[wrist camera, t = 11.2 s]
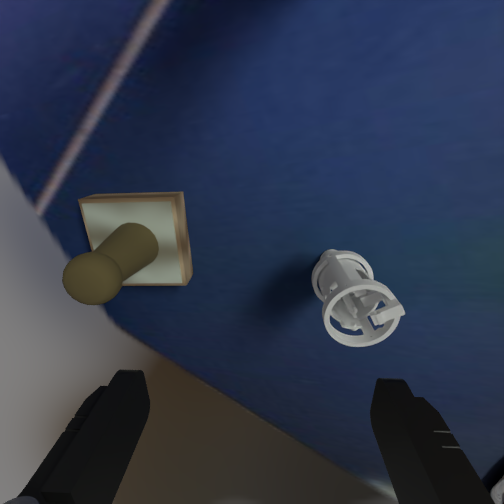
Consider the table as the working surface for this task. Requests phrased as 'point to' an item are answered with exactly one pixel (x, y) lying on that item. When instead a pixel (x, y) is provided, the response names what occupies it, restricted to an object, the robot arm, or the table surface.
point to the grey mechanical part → (354, 298)
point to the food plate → (498, 492)
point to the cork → (110, 264)
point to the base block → (154, 218)
